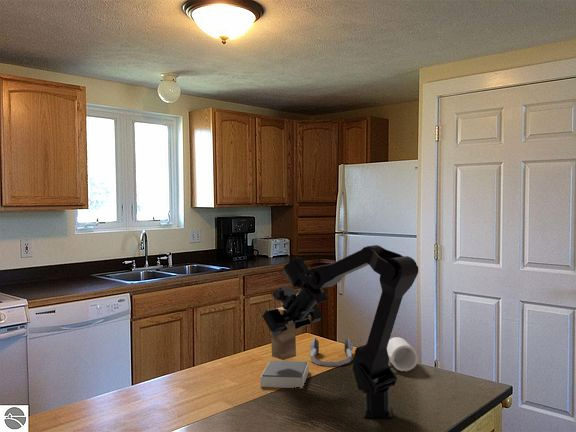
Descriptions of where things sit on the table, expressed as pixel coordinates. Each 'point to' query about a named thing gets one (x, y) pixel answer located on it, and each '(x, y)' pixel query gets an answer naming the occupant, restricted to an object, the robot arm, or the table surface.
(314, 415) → the table surface
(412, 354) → the mug
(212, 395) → the table surface
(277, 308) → the cargo
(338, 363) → the headphones
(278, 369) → the dock
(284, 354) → the tan tall cylinder
